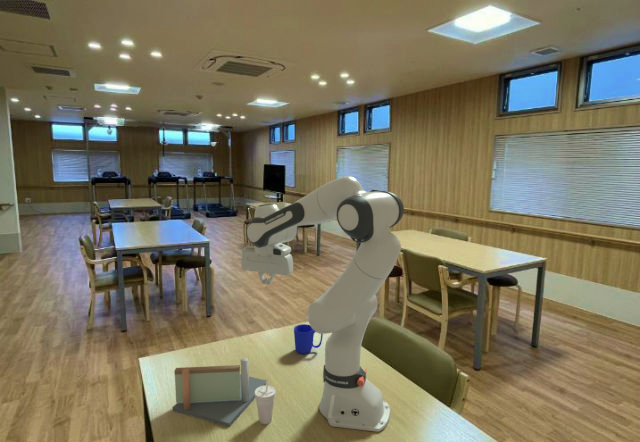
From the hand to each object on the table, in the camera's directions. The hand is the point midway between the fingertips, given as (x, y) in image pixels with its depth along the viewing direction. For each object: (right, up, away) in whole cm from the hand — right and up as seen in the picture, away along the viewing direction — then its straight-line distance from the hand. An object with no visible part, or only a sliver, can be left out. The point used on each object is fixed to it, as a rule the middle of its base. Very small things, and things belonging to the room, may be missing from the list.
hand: (266, 283), depth 143 cm
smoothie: (+3, -38, -26) cm, 46 cm away
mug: (+15, -31, +17) cm, 39 cm away
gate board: (-13, -36, -14) cm, 40 cm away
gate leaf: (-16, -34, -19) cm, 42 cm away
